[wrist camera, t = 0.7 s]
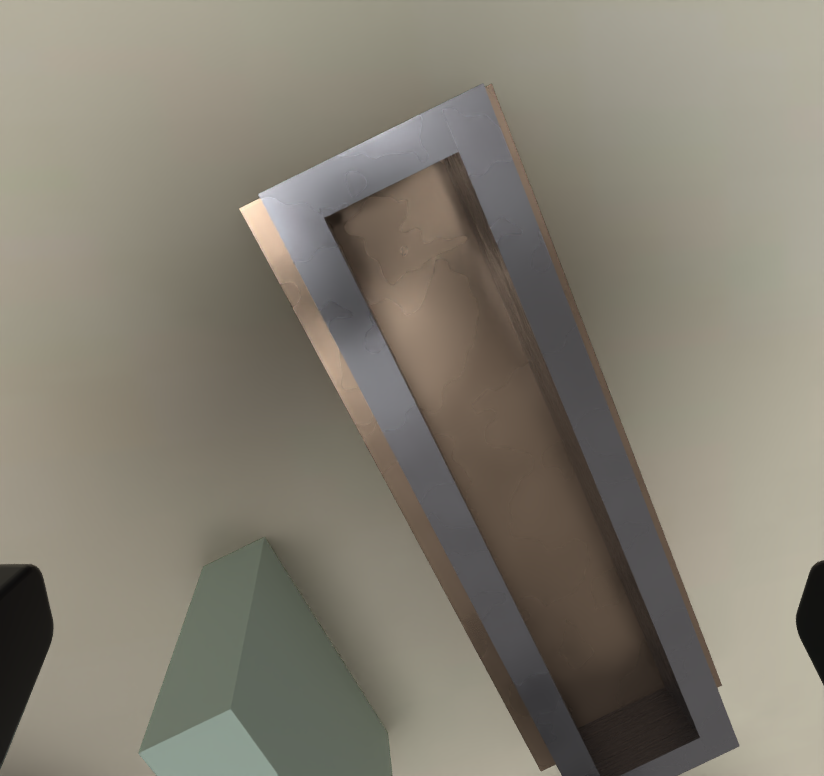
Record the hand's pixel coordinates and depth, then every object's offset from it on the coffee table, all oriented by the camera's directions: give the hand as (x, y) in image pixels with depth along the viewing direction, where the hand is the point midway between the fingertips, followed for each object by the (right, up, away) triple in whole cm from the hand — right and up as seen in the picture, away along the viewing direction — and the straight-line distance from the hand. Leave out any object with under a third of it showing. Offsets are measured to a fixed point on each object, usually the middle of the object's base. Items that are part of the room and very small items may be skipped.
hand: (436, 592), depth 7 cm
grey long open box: (+3, -1, +15) cm, 16 cm away
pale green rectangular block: (-4, -8, +17) cm, 19 cm away
